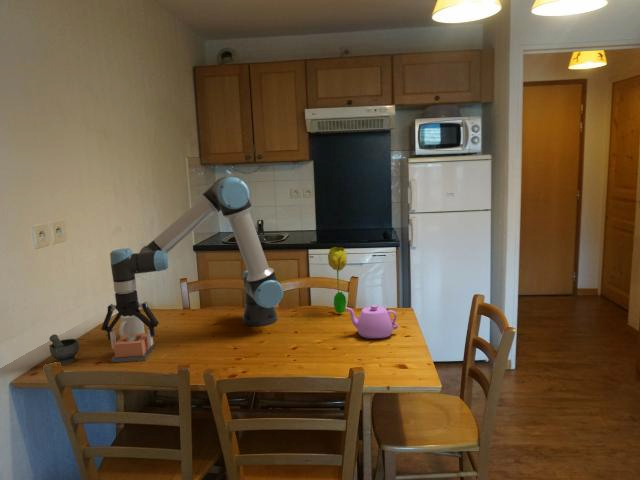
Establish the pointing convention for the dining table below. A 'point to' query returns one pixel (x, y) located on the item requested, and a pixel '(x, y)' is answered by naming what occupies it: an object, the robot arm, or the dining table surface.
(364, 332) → the teapot
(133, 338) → the block
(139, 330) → the mug
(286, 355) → the dining table surface
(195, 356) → the dining table surface
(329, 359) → the dining table surface
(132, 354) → the terracotta brick slab
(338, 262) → the flower
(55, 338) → the mortar and pestle
